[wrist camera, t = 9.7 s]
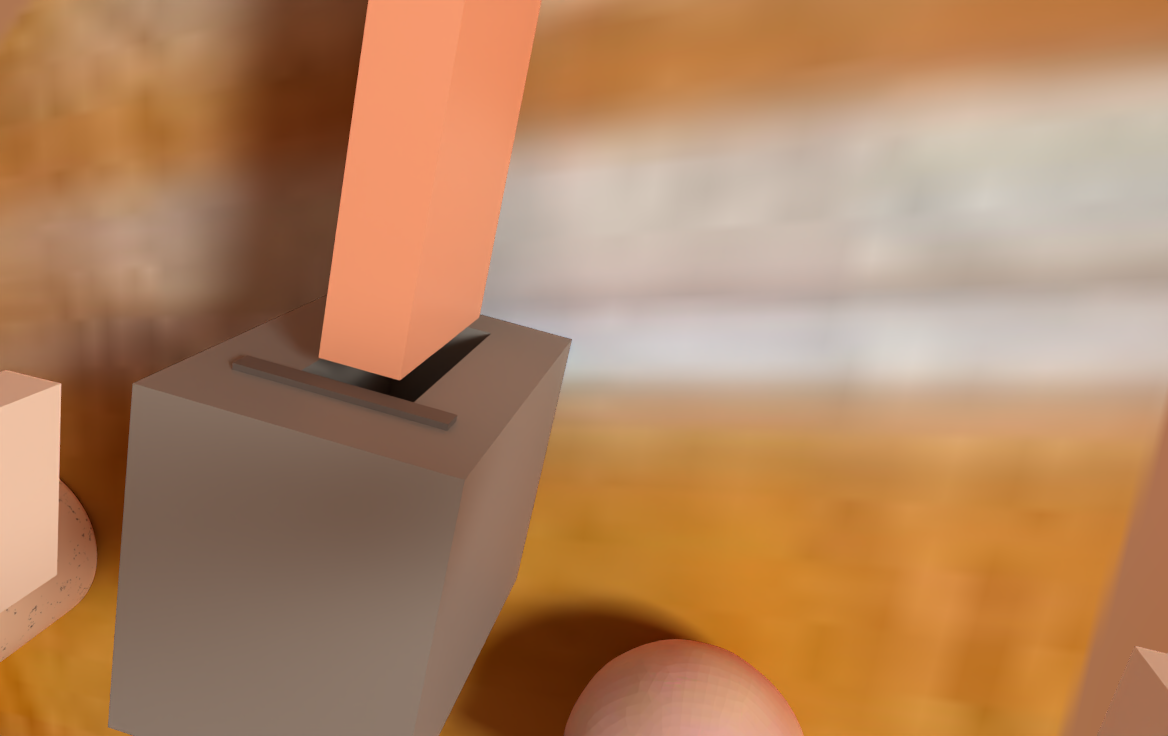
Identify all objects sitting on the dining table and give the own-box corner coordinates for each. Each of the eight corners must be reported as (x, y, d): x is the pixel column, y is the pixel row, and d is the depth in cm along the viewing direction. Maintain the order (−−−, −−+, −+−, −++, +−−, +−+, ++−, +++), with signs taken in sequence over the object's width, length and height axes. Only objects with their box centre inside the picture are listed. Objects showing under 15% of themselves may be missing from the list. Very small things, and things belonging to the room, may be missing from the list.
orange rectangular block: (479, 317, 34) (399, 380, 26) (415, 300, 34) (318, 357, 26) (576, -179, 29) (512, -280, 21) (500, -195, 29) (410, -301, 21)
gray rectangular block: (516, 578, 39) (395, 823, 26) (321, 520, 40) (108, 726, 27) (572, 334, 36) (466, 472, 22) (357, 276, 37) (133, 376, 23)
